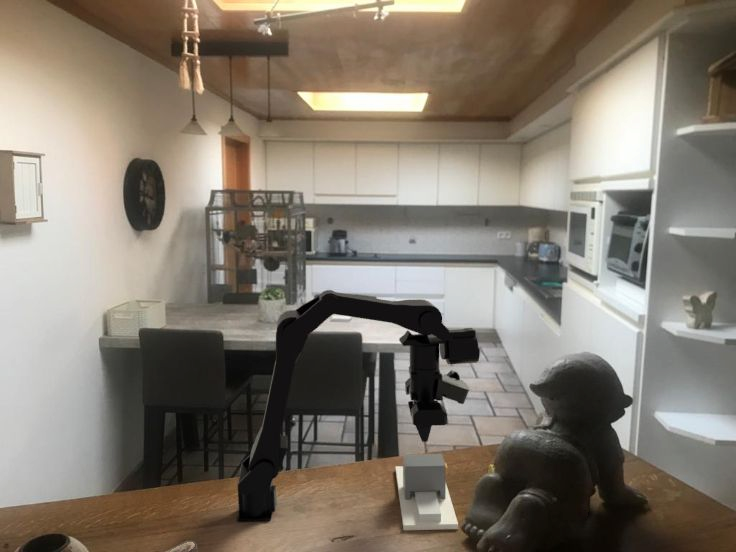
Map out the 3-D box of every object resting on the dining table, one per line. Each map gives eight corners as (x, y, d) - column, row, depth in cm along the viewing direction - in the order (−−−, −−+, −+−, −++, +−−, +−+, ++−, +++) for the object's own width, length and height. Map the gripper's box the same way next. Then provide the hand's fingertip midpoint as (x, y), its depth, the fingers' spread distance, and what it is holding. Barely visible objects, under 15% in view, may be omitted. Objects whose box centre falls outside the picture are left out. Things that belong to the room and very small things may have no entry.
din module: (405, 499, 111) (404, 466, 110) (403, 486, 116) (402, 454, 115) (448, 498, 111) (448, 465, 110) (444, 485, 116) (444, 453, 115)
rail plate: (403, 530, 103) (403, 517, 102) (395, 470, 125) (395, 460, 124) (458, 529, 103) (458, 516, 103) (440, 469, 125) (440, 459, 124)
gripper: (475, 380, 100) (474, 462, 103) (457, 350, 119) (456, 420, 121) (413, 382, 100) (413, 464, 103) (404, 351, 119) (405, 422, 121)
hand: (424, 440), depth 112 cm, fingers closed
